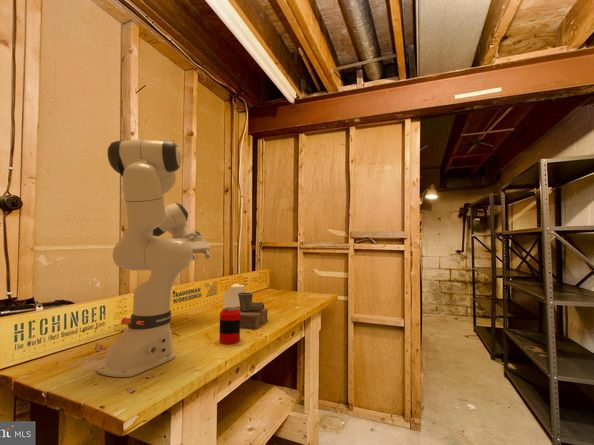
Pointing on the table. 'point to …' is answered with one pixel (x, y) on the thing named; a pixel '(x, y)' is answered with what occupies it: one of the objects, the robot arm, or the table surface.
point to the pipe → (249, 303)
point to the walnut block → (252, 318)
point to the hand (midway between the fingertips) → (202, 258)
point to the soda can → (229, 325)
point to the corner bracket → (233, 296)
